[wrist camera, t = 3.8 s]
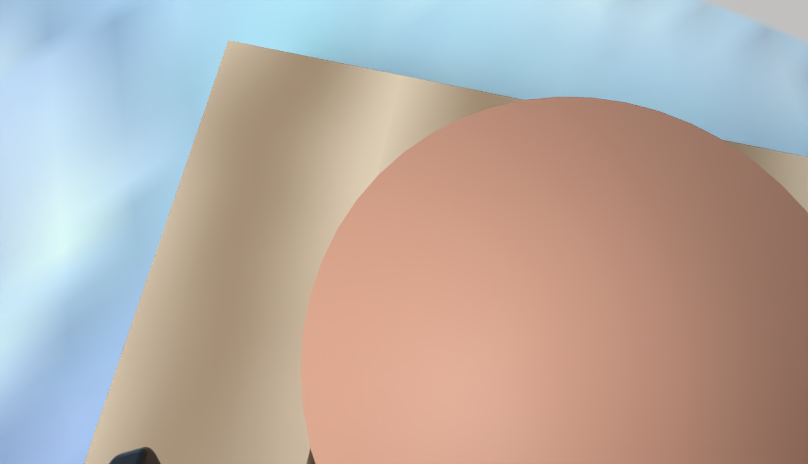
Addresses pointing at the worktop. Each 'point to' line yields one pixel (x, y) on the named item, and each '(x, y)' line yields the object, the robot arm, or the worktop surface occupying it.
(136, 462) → the robot arm
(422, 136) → the pocket block
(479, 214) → the terracotta peg
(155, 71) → the worktop surface
